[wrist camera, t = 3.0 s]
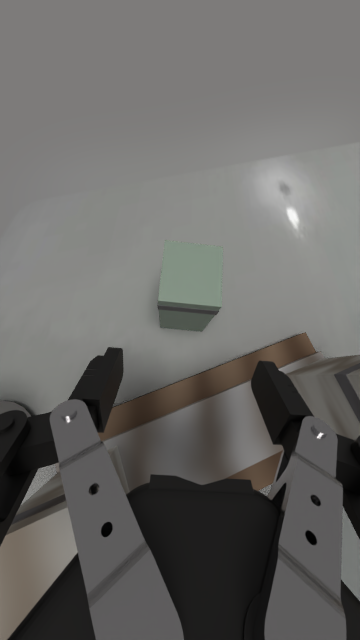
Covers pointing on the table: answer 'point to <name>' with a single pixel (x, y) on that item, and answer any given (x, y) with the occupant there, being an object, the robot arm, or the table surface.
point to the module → (190, 285)
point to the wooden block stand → (177, 453)
